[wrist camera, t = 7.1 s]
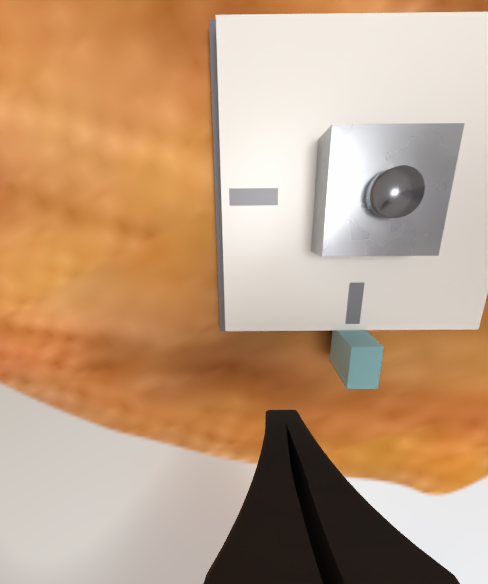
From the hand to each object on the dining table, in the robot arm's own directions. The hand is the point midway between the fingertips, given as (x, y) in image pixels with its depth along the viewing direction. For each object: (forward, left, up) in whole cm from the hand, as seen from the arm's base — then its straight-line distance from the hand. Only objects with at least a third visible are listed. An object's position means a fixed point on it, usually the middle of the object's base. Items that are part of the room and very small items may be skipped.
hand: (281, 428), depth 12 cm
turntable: (-6, -9, -8) cm, 14 cm away
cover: (-6, -10, -7) cm, 14 cm away
